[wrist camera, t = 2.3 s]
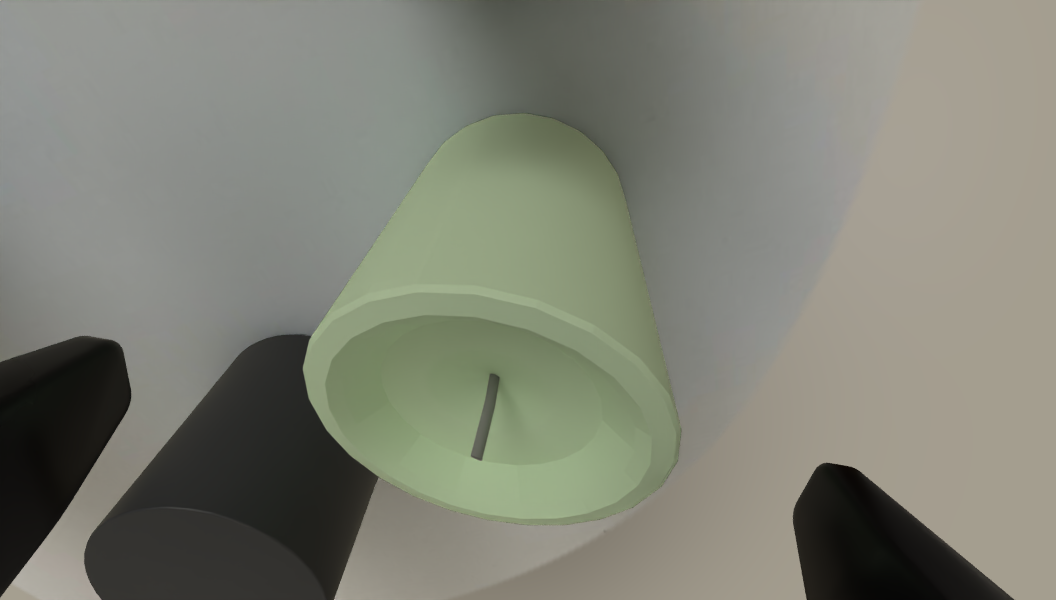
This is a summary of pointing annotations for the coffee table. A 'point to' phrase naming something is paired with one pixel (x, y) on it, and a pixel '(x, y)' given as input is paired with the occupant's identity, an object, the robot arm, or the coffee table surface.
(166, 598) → the grey candle
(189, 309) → the coffee table surface
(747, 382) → the coffee table surface
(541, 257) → the candle
